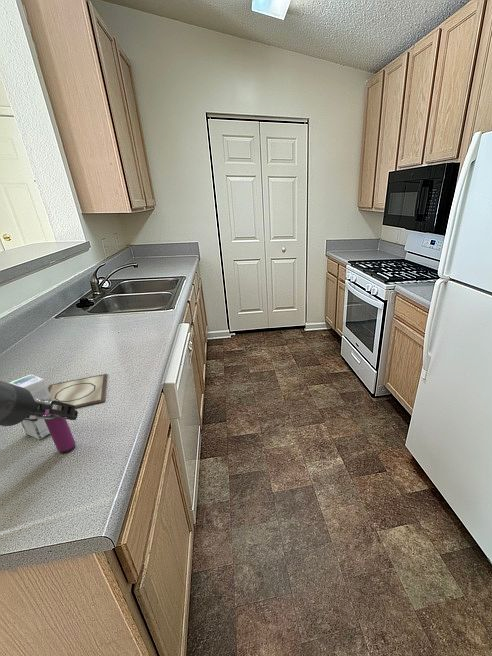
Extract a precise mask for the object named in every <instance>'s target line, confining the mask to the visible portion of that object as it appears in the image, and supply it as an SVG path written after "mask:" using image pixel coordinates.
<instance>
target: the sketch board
mask: <svg viewBox="0 0 492 656" xmlns="http://www.w3.org/2000/svg"><path fill="white" fill-rule="evenodd" d="M107 384H108V373H103V374H98V375H93V376H86V377H82V378H77V379H73V380H66V381H62V382H58V383H57V382H56V383H52V384H49V385H48V387H47V389H48V391H49V394H50V396H51V399H52V401H54V400H56V401H59V402H63V403H67V404H70V405H74V406H75V410H76V409H79V408H86V407H89V406H94V405H97V404H102V403H106V396H107V395H106V394H107V386H108V385H107Z"/></svg>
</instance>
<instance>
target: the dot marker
mask: <svg viewBox="0 0 492 656" xmlns="http://www.w3.org/2000/svg"><path fill="white" fill-rule="evenodd" d="M48 415H49V411H47V410H46V411H45V414H44V415H43V416H48ZM44 420H45V423H46V425H47V427H48V430H49V432H50V434H49V435H50V436H51V439H52V441H53V443H54V446H55V448H56V450H57V451H58V452H59V453H60V454H68V453H70V452H72V451H73V450H75V448H76V440H75V438H74V435H73V433H72V431H71V428H70V426H69V423H68V421H67V419H62V418H53V419H50V420H48V419H44Z"/></svg>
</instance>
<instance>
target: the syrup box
mask: <svg viewBox="0 0 492 656" xmlns="http://www.w3.org/2000/svg"><path fill="white" fill-rule="evenodd" d="M8 383H9V384H13V385H16V386H19V387H23V388H25V389H27V390H28V391H29V392H30V393H31V394H32V396H33V398H34V399H40V400H41V401H47V402H51V401H52V399H51V396H50V394H49V391H48V387H47V383H46V381H45V379H43V378H41V377H39V376H37V375H35V374H28V375H25V376H22V377H20V378H18V379H15V380H13V381H10V382H8ZM20 424H21V425H22V428H23V430H24V433H25V434H27V435H28V436H31V437H32V438H35V439H37V440H39V441H40V440H42V439H44V438H46V437H48V436H49V435H51V434H50V432H49V430H48V427H47V425H46V423H45V420H44V419H38V420H37V421H27V420H23V421H22V422H20Z"/></svg>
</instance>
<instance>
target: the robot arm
mask: <svg viewBox="0 0 492 656" xmlns="http://www.w3.org/2000/svg"><path fill="white" fill-rule="evenodd" d="M9 383H10V382H6V381H3V380H0V427H13V426H16V425H18V424H21V422H22V421H23V420H27V421H37V420H38V419H48V420H50V419H53V418H62V419H66V420H68V421H76V420H77V419H78V415H79V411H78V410H76V409H75V406H74V405H70V404H67V403H63V402H59V401H56V400H54V401H51V402H47V401H41V400H40V399H34V398H33V396H32V394H31V393H30V392H29V391H28V390H27V389H25V388H23V387H19V386H16V385H13V384H9ZM46 410H47V411H49V415H48V416H43V415H44V414H45V411H46Z"/></svg>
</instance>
